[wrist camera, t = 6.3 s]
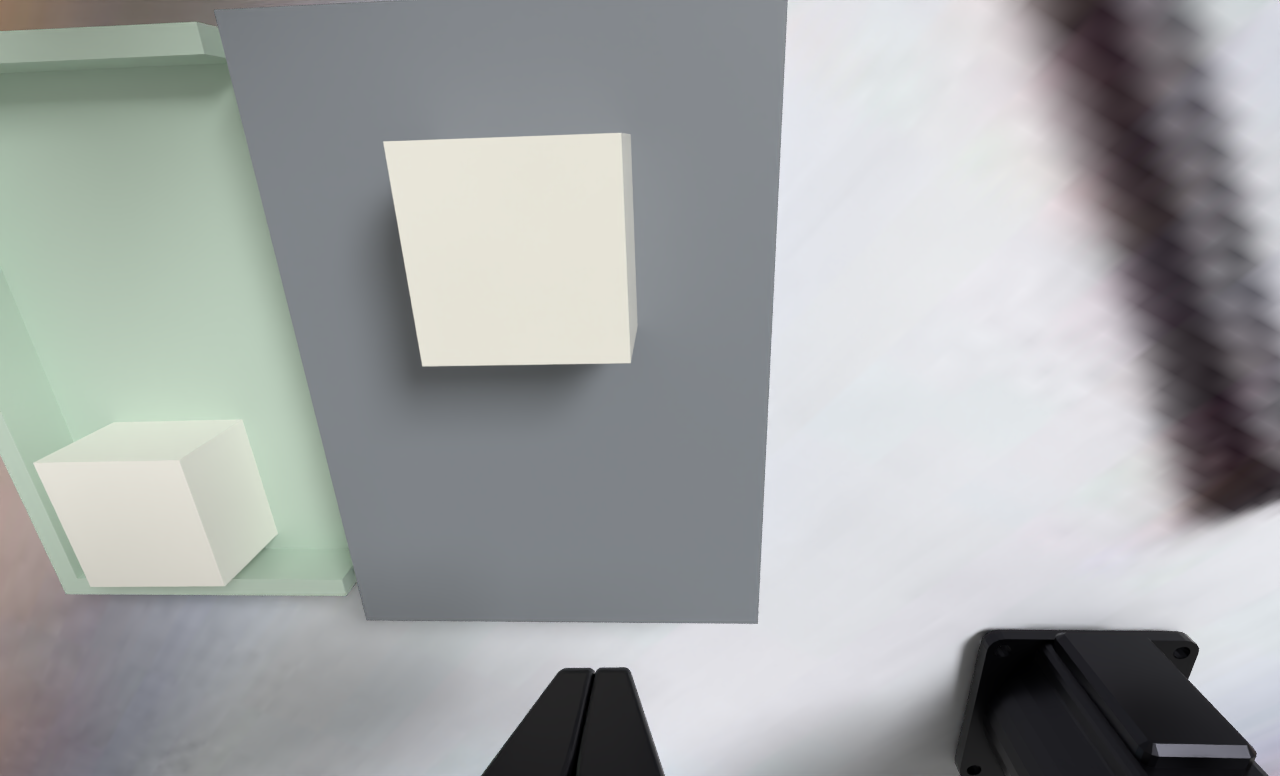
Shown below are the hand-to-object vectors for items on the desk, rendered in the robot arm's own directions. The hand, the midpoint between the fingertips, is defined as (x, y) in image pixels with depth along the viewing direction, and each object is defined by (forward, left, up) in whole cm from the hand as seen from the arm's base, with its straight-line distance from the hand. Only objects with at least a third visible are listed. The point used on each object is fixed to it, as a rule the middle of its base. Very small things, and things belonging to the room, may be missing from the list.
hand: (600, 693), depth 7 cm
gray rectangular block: (+1, +2, -11) cm, 11 cm away
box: (+1, +13, -11) cm, 17 cm away
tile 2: (-3, +14, -8) cm, 16 cm away
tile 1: (+4, +2, -8) cm, 9 cm away
